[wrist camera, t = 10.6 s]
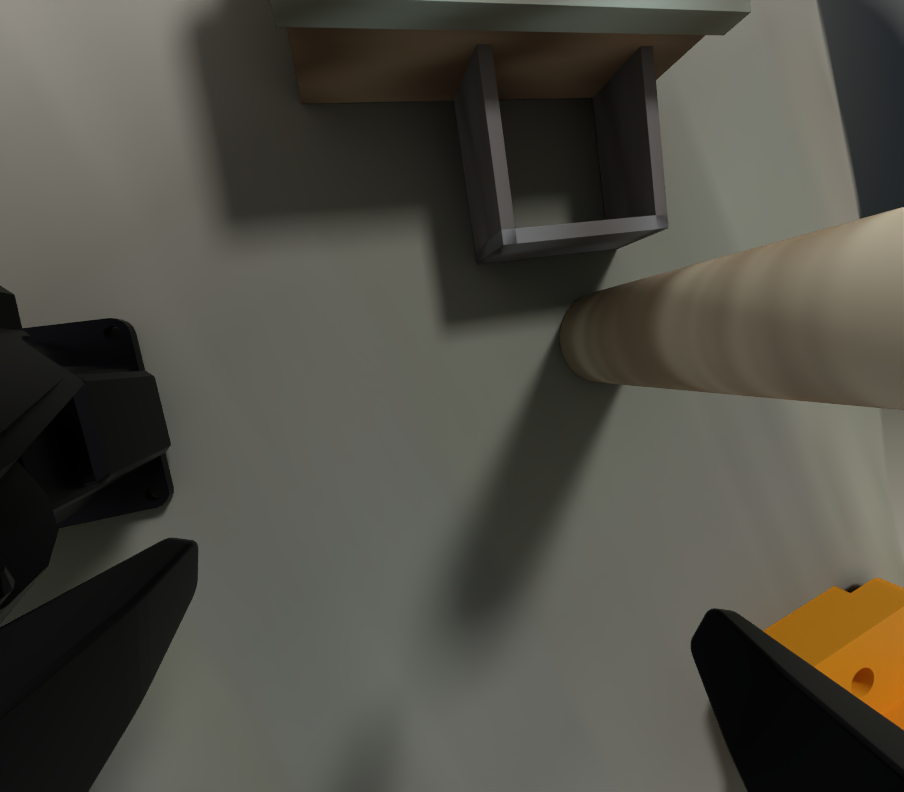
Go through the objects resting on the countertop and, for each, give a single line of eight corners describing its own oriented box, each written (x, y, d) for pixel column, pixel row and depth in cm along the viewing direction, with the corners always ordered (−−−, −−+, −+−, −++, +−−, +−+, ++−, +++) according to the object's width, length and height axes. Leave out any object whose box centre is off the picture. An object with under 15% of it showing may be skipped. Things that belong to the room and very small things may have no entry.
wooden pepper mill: (565, 389, 18) (1026, 451, 6) (554, 297, 18) (1031, 154, 5) (643, 374, 19) (1187, 400, 7) (634, 286, 19) (1204, 141, 6)
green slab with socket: (325, 281, 16) (316, 246, 11) (255, -95, 14) (207, -330, 9) (656, 244, 19) (762, 205, 14) (628, -65, 17) (736, -228, 13)
